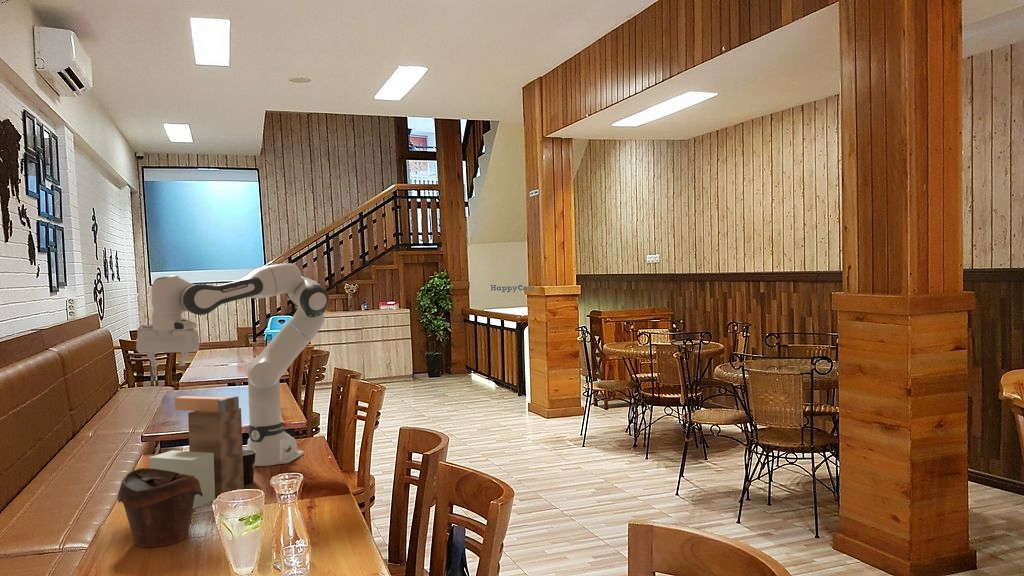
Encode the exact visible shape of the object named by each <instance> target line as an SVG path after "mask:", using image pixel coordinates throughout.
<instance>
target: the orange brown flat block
mask: <svg viewBox="0 0 1024 576" xmlns="http://www.w3.org/2000/svg"><path fill="white" fill-rule="evenodd" d="M239 401H240V399H239V396H237V395H235V396H232V397H230V396H201V395H199V396H198V395H197V396H196V395H194V396H193V395H182V396H177V397H174V411H182V412H183V411H184V412H185V411H186V412H193V411H207V412H218V413H225V412H229V411H232V410H236V409H239V408H240V403H239Z"/></svg>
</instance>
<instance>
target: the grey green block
mask: <svg viewBox="0 0 1024 576" xmlns="http://www.w3.org/2000/svg"><path fill="white" fill-rule="evenodd" d="M148 458H149V459H148V462H149V467H148V468H151V469H158V470H166V471H171V472H176V473H180V474H184V475H190V476H195V478H196V479H198V480H199V483H200V487H201V491H202V494H203V497H202V496H201V495H199V494H196V495H195V497H194V503H193V508H192V510H194V509H196V508H199V507H202V506H204V505H207V504H209V503H211V502H215V501H216V497H215V481H214V453H207V452H191V451H190V450H189V451H188V450H173V449H172V450H169V451H166V452H162V453H159V454H156V455H151V456H149V457H148Z"/></svg>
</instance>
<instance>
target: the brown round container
mask: <svg viewBox="0 0 1024 576" xmlns="http://www.w3.org/2000/svg"><path fill="white" fill-rule="evenodd" d="M196 494H199V495H201V496H202V497H203V494H202V491H201V487H200V483H199V480H198V479H196V478H195V476H190V475H184V474H180V473H176V472H171V471H166V470H158V469H151V468H150V467H148V468H142V467H141V468H138V469H137V468H136V469H133V470H131V471H130V472H128V473H127V474H126V475H125V476H124V477H123V479H122V481H121V482H120V487H119V490H118V494H117V502H118V503H122V504H123V507H124V509H125V514H126V517H127V521H128V525H129V529H130V531H131V532H130V533H131V535H132V538H133V543H134V544H135V546H138V547H140V548H144V549H145V548H159V547H165V546H169V545H174V544H176V543H179V542H181V541H184V540H185V539H186V538H187V537H188V536H189V532H190V531H189V530H190V524H191V518H192V513H193V509H192V508H193V503H194V497H195V495H196Z"/></svg>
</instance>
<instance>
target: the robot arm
mask: <svg viewBox="0 0 1024 576" xmlns="http://www.w3.org/2000/svg"><path fill="white" fill-rule="evenodd" d="M282 294H285V295H286V297H287V298H288V299H289V300H290V301H291V302H292V303H293V304H295V306H296V307H297V308H296V311H295V313H294V314H293V316H292V317H290V319H289V320H288V321H287V322H286V323H285V324H284V325H283V327H281V329H280V330H279V331H278V332H277V333H276V335H275V336H273V338H272V339H271V341H270V342H269V343H268V344H267V345H266V347H264V349H263V350H262V351H261V353H259V355H257V356H256V357H254V358H253V359H251V361H250V362H249V364H248V366H247V382H248V412H249V414H248V415H249V424H248V429H247V430H248V436H249V438H248V439H247V445H246V450H255V451H256V455H255V467H267V466H274V465H280V464H281V465H282V464H283V465H285V464H289V463H290V462H292V461H294V460H296V459H297V458H300V457H301V456H303V455H305V452H304V451H303V450H301V449H298V445H297V444H298V443H297V439H296V438H294V437H293V436H291V435H290V434H289V433H287V432H286V431H285V428H288V427H289V422H288V421H282V413H281V394H280V393H281V391H280V379H281V378H282V376H283V375H284V374H285V372H286V371H287V370H288V369H289V367H291V365H292V364H293V363H294V361H295V360H296V359H297V358H298V356H299V355H300V354H301V352H303V350H304V349H305V348H306V347H307V345H308V344H309V343H310V342H311V341H313V339H314V338H315V336H317V334H318V332H319V331H320V329H321V327H322V326H323V324H324V322H325V320H326V319H325V318H326V317H325V315H324V313H325V310H326V308H327V306H328V304H329V301H330V298H329V294H328V291H327V290H326V289H325V287H324V286H322V285H320V284H319V282H317V281H316V280H314V279H311V278H310V277H308V276H306V275H304V274H302V272H301V270H300V268H299V267H298V265H296V264H294V263H290V262H289V263H287V262H286V263H276V264H270V265H266V266H261V267H257V268H256V269H253V270H251V271H248V272H247V273H246V274H245V276H243V278H241V279H238V280H236V281H231V282H230V281H229V282H227V283H223V284H219V285H210V284H205V283H197V284H196V283H193V282H189V281H187V280H186V279H183V278H182V277H180V276H179V275H176V274H171V275H170V274H169V275H166V276H160V277H157V278H155V280H154V281H153V282H152V287H151V304H152V313H151V322H152V323H151V324H141V325H140V326H138V328H137V330H136V335H137V338H136V343H135V344H136V347H135V348H136V351H137V352H138V354H140V353H141V354H142V353H143V354H145V353H147V358H148V360H149V361H150V366H151V367H158V366H159V360H156V358H155V356H156V354H157V353H180V355H181V356H182V357H181V359H180V360H178V365H177V366H179V367H185V366H186V360H187V359H188V357H189V355H190V354H189V353H194V352H195V353H196V352H198V350H199V349H200V337H199V332H198V331H197V330H196V328H197V327H198V326H197V322H195V321H192V320H189V319H185V318H183V317H182V315H183V314H182V313H183V312H187V313H189V314H195V315H198V316H205V315H207V314H210V313H211V312H213V311H214V310H215V309H216V308H218V307H220V306H221V305H223V304H226V303H230V302H234V301H239V300H242V299H266V298H271V297H275V296H279V295H282Z"/></svg>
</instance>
